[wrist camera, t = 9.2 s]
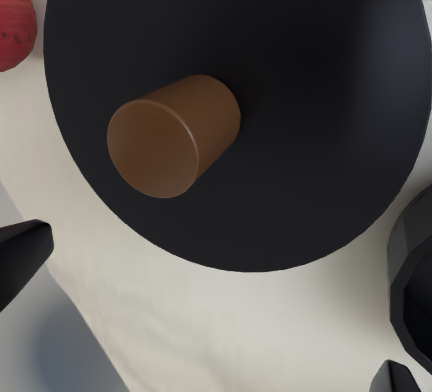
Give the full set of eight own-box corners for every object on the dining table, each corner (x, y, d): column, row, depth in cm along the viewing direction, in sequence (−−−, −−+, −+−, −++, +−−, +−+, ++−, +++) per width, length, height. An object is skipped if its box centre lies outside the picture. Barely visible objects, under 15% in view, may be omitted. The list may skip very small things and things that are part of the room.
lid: (537, -124, 8) (703, -244, 4) (343, 298, 15) (333, 402, 11) (42, -152, 11) (-133, -230, 7) (79, 203, 19) (2, 258, 15)
